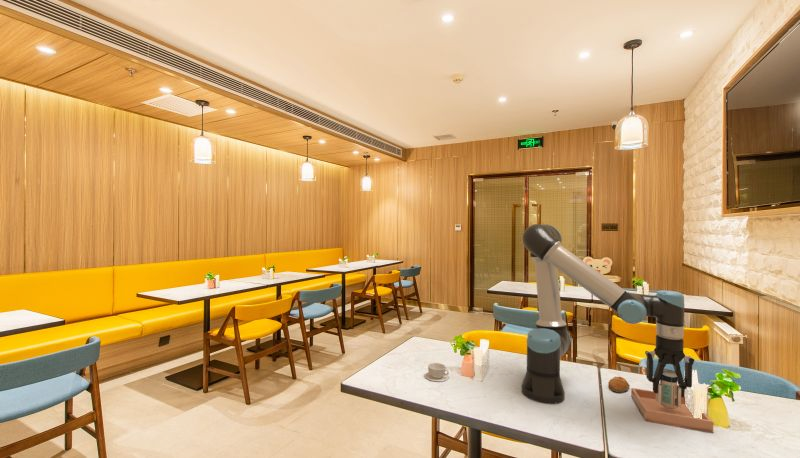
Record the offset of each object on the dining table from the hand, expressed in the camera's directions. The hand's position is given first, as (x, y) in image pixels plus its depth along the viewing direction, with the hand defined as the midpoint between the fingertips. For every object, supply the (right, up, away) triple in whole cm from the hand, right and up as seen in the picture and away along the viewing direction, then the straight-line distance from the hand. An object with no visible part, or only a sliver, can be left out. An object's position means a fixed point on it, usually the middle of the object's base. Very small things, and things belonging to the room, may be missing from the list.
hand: (668, 404), depth 119 cm
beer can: (0, -1, 0) cm, 1 cm away
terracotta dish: (0, -3, 0) cm, 3 cm away
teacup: (-77, -2, +26) cm, 81 cm away
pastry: (-5, -4, +19) cm, 20 cm away
